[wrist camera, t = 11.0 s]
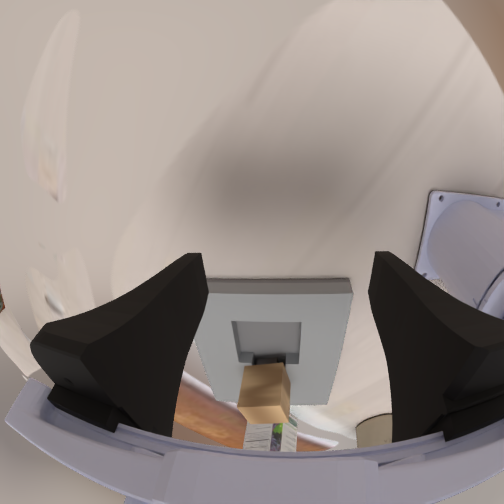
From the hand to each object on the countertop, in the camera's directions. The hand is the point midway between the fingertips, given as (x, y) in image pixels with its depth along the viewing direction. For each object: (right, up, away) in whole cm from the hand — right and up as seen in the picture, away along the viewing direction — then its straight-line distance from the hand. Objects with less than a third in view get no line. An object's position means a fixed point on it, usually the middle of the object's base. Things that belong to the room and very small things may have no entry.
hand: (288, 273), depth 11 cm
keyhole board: (0, -9, +16) cm, 19 cm away
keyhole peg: (0, -11, +17) cm, 20 cm away
